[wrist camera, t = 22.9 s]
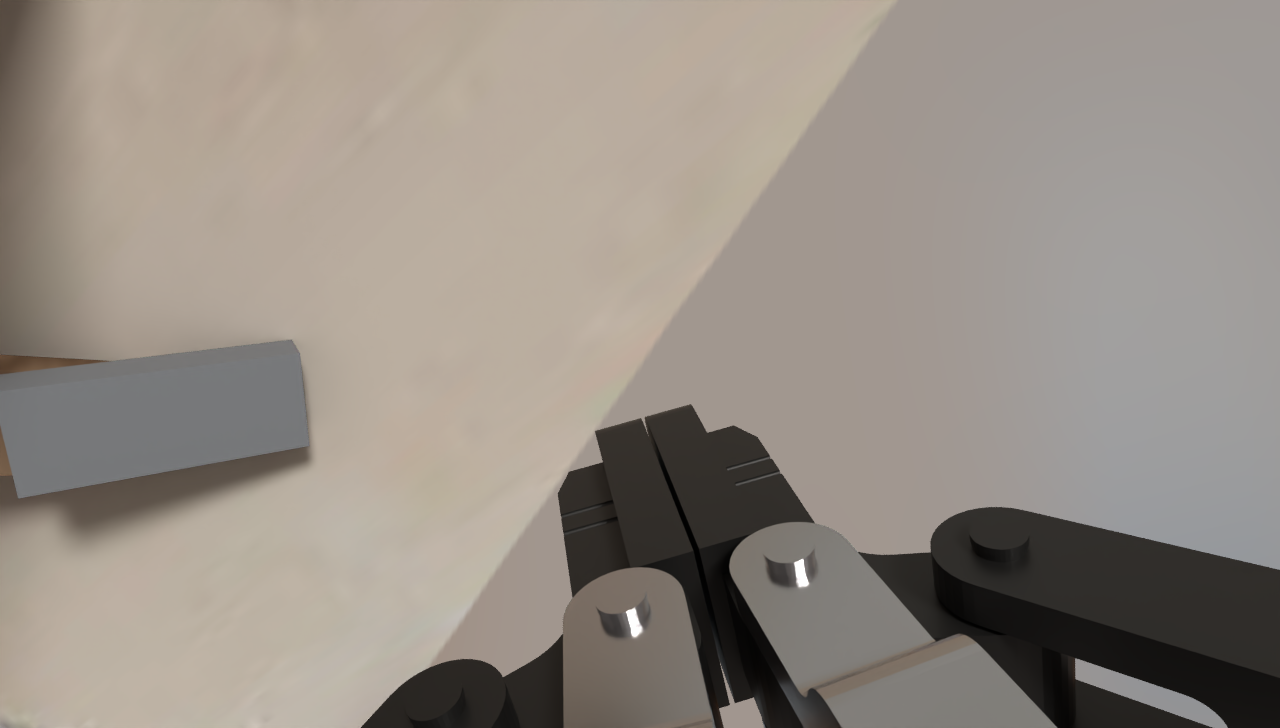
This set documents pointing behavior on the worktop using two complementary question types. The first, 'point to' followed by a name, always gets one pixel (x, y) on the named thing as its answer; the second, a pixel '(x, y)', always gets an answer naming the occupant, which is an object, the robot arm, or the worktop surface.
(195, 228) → the worktop surface
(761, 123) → the worktop surface
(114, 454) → the gray domino
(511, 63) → the worktop surface
